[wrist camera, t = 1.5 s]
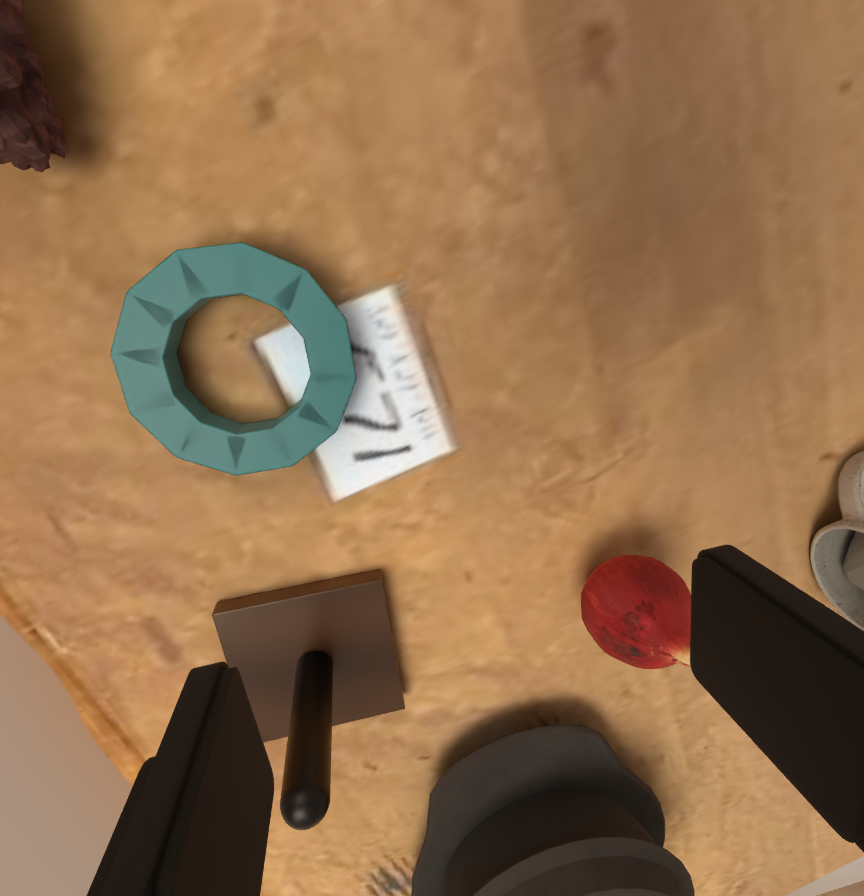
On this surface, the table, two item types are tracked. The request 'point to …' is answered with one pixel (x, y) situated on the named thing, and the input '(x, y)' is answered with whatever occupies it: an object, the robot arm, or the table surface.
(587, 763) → the casserole
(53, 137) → the pine cone
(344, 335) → the ring
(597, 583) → the onion
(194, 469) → the table surface
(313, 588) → the stand
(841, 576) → the ceramic mug
